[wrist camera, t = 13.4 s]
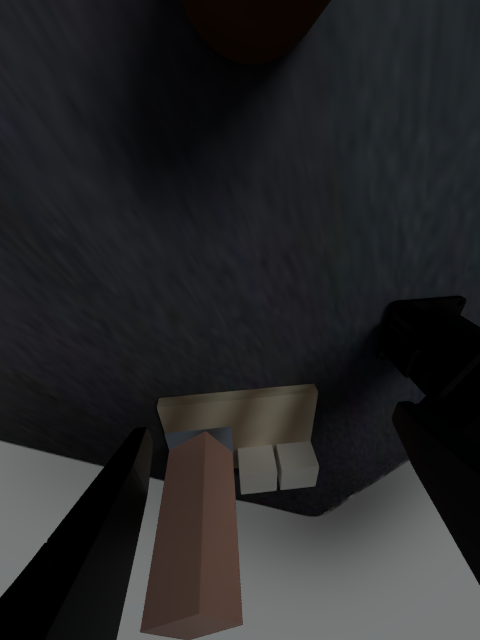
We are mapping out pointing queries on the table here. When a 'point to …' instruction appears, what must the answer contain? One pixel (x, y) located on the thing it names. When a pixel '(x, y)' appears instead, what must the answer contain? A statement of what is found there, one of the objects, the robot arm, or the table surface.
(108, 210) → the table surface
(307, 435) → the board
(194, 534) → the tower block
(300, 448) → the built blocks
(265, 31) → the mug
